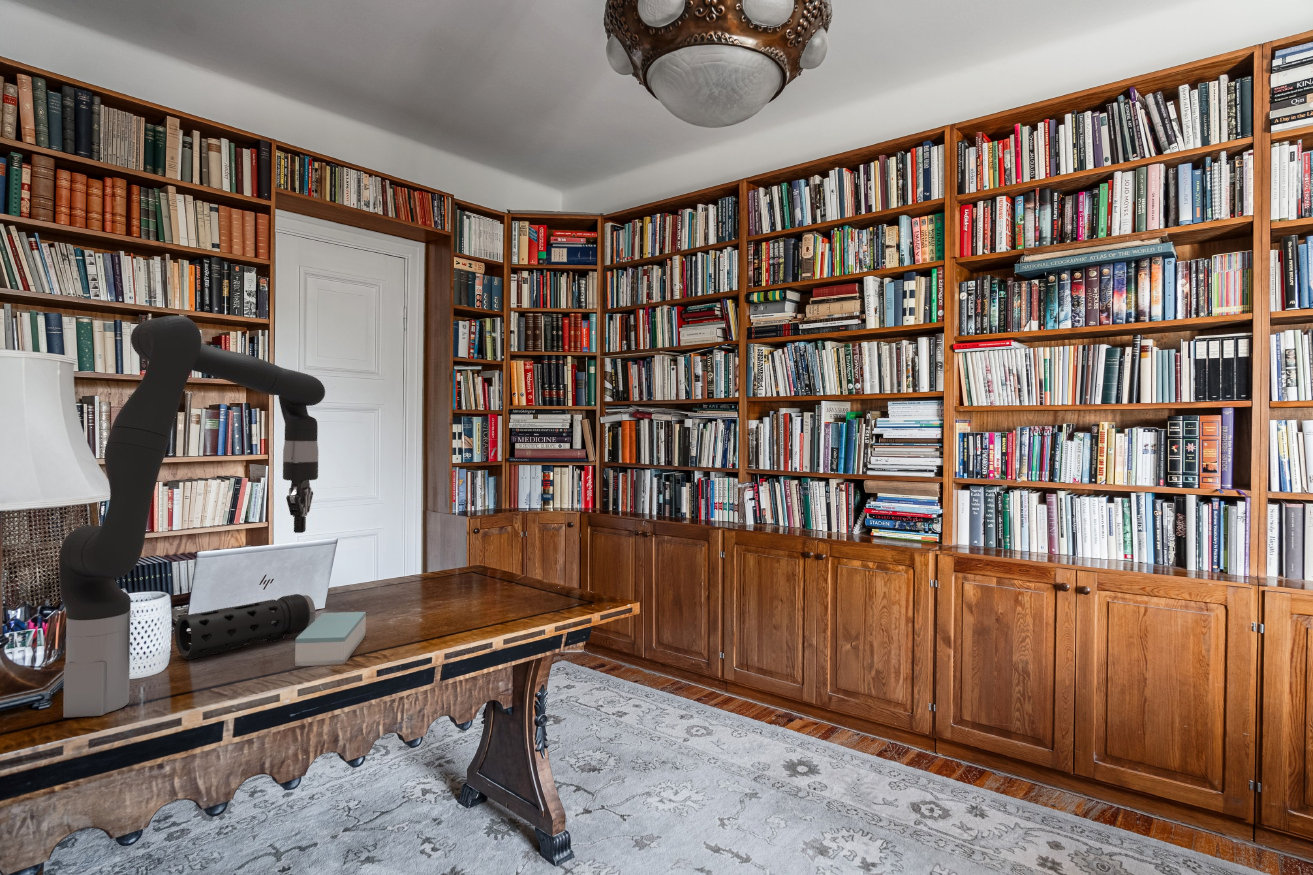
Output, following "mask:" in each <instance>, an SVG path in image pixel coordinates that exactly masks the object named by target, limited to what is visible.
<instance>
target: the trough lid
mask: <svg viewBox="0 0 1313 875" xmlns="http://www.w3.org/2000/svg"><path fill="white" fill-rule="evenodd" d="M366 615H367V612H366V611H347V612H341V611H339V612H322V614H320V615H319V616H318V617H317V618H315V621H314V622H313V623H312V624H311V625H310V626H309V627H307V628H306V629H305V630H304V631H302V632H300V634H298V635H297V637H295V642H294V644H295V643H319V642H345V640H346V639H347V638H348V637H349V635H350V634H351V633H352V632H353V631H354V629H355V628H356V627H357V626H358V625H359V623H360V622H361V621H362V620H363V618H364V617H365V616H366Z"/></svg>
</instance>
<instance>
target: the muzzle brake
mask: <svg viewBox="0 0 1313 875" xmlns="http://www.w3.org/2000/svg"><path fill="white" fill-rule="evenodd" d="M315 620H316V607H315V604H314V601H313V599H312V597H311V596H310V595H307V594H304V595H303V594H299V593H296V594H290V595H284V596H281V597H279V598H277V599H268V600H263V601H257V602H252V603H247V604H242V605H236V606H229V607H224V608H219V609H218V608H217V609H214V610H208V611H203V612H202V611H201V612H196V613H190V614H189V613H188V614H184V615H181V616H179V617H178V618H177V620H176V623H175V629H174V639H175V645H176V649H177V651H178V653H179V654H180V655H181V656H182V657H183V658H184V659H185V660H188V661H189V660H192V659H196V658H197V659H198V658H202V657H206V656H211V655H215V654H220V653H223V652H228V651H232V649H236V648H244V646H245V645H248V644H249V645H250V644H252V643H257V642H262V641H266V642H268V641H269V643H271V642H270V641H272V642H275V641H274V640H276V641H279V640H280V639H281V640H283V639H284V637H285V636H289V635H290V636H291V635H294V634H298V633H302V632H303V631H304V630H305V629H306V628H307V627H309V626H310V625H311V624H312V623H313V622H314V621H315ZM188 629H190V632H188V631H187V630H188ZM281 640H280V641H281Z"/></svg>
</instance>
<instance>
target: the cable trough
mask: <svg viewBox="0 0 1313 875" xmlns="http://www.w3.org/2000/svg"><path fill="white" fill-rule="evenodd" d="M366 618H367V617H366V616H365V617H364V618H363V620H362V621H361V622H360V623H359V625H358V626H357V627H356V628H355V629H354V631H353V632H352V633H351V634H350V635H349V637H348V638H347V639H346V640H345V642H319V643H295V642H294V644H295V645H294V646H295V648H294V649H295V650H294V651H295V652H294V659H295V660H294V666H295V667H310V666H311V667H312V666H313V667H314V666H333V665H334V666H335V665H345V664H346V663H347V661H348V660H349V658H350V657H351V656H352V654H353V653H354V651H355V650H356V649H357V647H358V646H359V645H360V644H361V642H362V641H363V639H364V638H365V637H366V629H367V628H366V622H367V621H366V620H367V619H366Z"/></svg>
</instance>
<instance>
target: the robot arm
mask: <svg viewBox="0 0 1313 875" xmlns="http://www.w3.org/2000/svg"><path fill="white" fill-rule="evenodd" d="M202 339H203V337H202V334H201V331H200V328H199V327H198V325H197V323H195V322H194V320H192V319H190V318H189V317H186V316H183V315H166V316H161V317H155V318H150V319H146V320H145V321H141V322H140V323H139V324H138V325H136V326H135V327H134V328H133V329H132V332H131V334H130V343H131V346H132V349H133V350H134V352H135V353H136V355H137V356H139V357H140V358H141V359H143V360H145V361H147V362H148V363H147V367H146V370H145V372H144V375H143V377H142V379H141V381H140V383H139V384H138V386H137V387H136V388H135V390H134V391H133V392H132V394H130V396H129V398H128V399H127V401H126V402H125V403H124V405H122V407H121V408H120V410H119V411H118V413H117V414H116V416H115V418H114V421H113V423H112V425H111V429H110V432H109V434H108V437H107V441H106V444H105V447H104V454H103V456H104V459H103V461H104V466H105V467H104V468H105V471H106V476H107V480H108V485H109V493H110V495H109V496H110V497H109V503H108V506H107V511H106V514H105V517H104V520H103V523H102V525H83V526H81V527H78V528H76V529H73V530H72V531H71V532H70V533H68V535H66V537H65V538H64V540H63V541H62V544H61V547H60V550H59V557H58V558H59V559H58V560H59V562H58V569H59V571H58V572H59V587H60V590H59V592H60V599H61V603H62V604H63V606H64V608H65V612H66V613H65V614H66V619H65V620H66V621H65V622H66V623H65V624H66V626H65V627H66V629H65V632H66V633H65V634H66V635H65V664H64V665H63V702H62V703H63V706H62V708H63V711H62V712H63V714H62V715H63V718H80V717H82V718H83V717H97V716H99V717H100V716H104V715H105V714H108V713H110V712H113V711H116V710H120V709H122V708H123V707H125V706H126V705H128V704H129V702H130V672H131V671H130V669H131V668H130V664H131V662H130V661H131V609H132V608H131V605H132V604H131V603H132V602H131V601H132V600H131V596H130V595H129V594H128V593H126V592H125V591H124V589H121V588H120V587H119V585H118V584H117V582H116V580H115V579H120V578H122V577H124V576H126V575H129V573H130V572H131V571H132V570H133V569H134V568H135V567H136V565H137V564H138V562H139V561H140V558H141V556H142V553H143V549H144V545H145V541H146V540H145V539H146V532H147V526H148V522H149V520H148V519H149V515H150V510H151V505H152V501H153V496H154V493H155V489H156V485H157V482H158V478H159V475H160V470H161V467H162V464H163V462H164V460H165V456H166V453H167V449H168V446H169V442H170V439H171V435H172V430H173V426H174V423H175V420H176V417H177V413H178V412H179V407H180V404H181V401H182V397H183V394H184V390H185V387H186V386H187V385H186V384H187V383H188V380H189V378H190V375H191V373H192V371H194V372H198V373H201V374H205V375H208V376H211V377H214V378H217V379H220V380H225V381H228V382H230V383H233V384H235V385H239V386H242V387H245V388H248V389H251V390H253V391H256V392H259V393H261V394H265V395H268V396H269V395H270V396H271V395H272V396H278V401H279V402H278V403H279V406H280V409H281V410H280V411H281V414H282V418H283V421H284V444H283V449H282V452H283V453H282V479H283V480H285V481H290V488H289V490H288V495H286V503H287V506H288V509H289V510H288V511H289V514H290V516H292V518H293V532H294V533H295V534H301V533H302V534H303V533H304V532H305V533H306V531H307V530H306V528H307V527H306V526H307V524H306V522H307V520H306V519H307V518H306V517H308V513H310V510H311V504H312V501H313V497H314V491H313V490H312V487H311V485H310V481H316V480H317V479H319V446H318V445H319V444H318V436H319V435H318V431H319V430H318V428H319V427H318V421H317V419H316V418H315V417H313V416H312V415H311V416H310V415H309V412H308V408H307V407H309V406H316V405H318V404H320V403H321V402H322V401H323V399H324V398H325V396H326V389H325V386H324V384H323V383H322V381H321V380H319V379H318V378H317V377H315V376H313V375H311V374H307V373H303V372H300V371H296V370H292V369H288V368H284V367H281V366H278V365H277V364H274V363H272V362H269V361H267V360H264V359H262V358H258V357H257V356H253V355H250V354H246V353H242V352H238V351H237V352H236V351H233V350H227V349H223V348H219V347H215V346H211V345H208V344H205V343H203V340H202Z"/></svg>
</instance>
